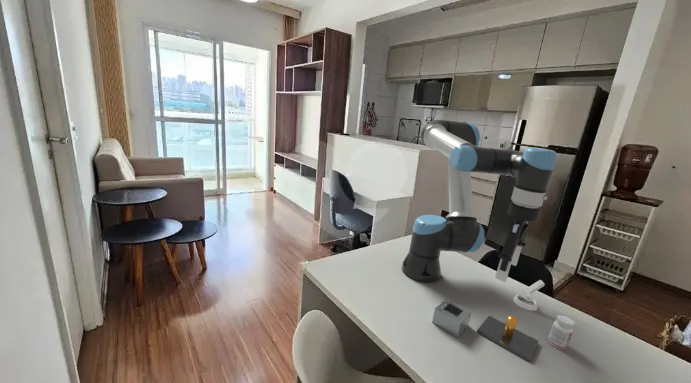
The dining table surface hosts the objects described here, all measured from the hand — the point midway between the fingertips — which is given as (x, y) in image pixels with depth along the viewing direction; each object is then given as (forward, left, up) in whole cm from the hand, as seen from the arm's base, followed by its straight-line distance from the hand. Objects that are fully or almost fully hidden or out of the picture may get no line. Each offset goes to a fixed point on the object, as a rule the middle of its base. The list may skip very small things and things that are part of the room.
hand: (506, 271), depth 87 cm
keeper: (+5, -3, -18) cm, 19 cm away
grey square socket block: (-9, -11, -18) cm, 23 cm away
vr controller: (+4, +22, -19) cm, 29 cm away
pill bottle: (+16, +7, -19) cm, 26 cm away
